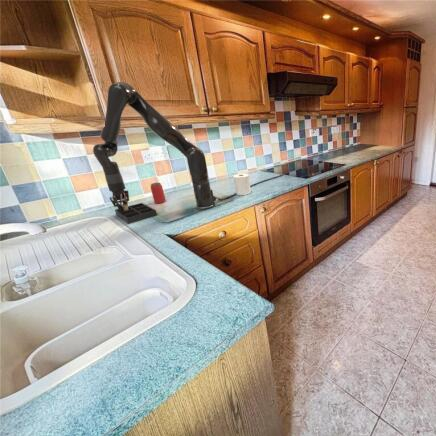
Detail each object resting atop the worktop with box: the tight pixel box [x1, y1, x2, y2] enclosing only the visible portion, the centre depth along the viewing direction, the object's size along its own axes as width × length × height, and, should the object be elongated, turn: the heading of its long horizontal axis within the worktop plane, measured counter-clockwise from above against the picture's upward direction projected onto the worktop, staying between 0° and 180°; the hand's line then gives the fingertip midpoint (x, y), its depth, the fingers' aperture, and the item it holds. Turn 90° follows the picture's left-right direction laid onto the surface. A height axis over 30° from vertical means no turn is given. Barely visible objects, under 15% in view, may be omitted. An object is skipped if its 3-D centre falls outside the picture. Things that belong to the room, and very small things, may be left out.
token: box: [122, 203, 129, 211], centre depth 146 cm, size 4×4×4 cm
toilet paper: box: [233, 173, 252, 196], centre depth 171 cm, size 10×10×12 cm
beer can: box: [150, 182, 166, 204], centre depth 162 cm, size 7×7×12 cm
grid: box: [114, 202, 158, 225], centre depth 144 cm, size 14×21×3 cm
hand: (124, 210), depth 146 cm, fingers closed on token, 4 cm apart
